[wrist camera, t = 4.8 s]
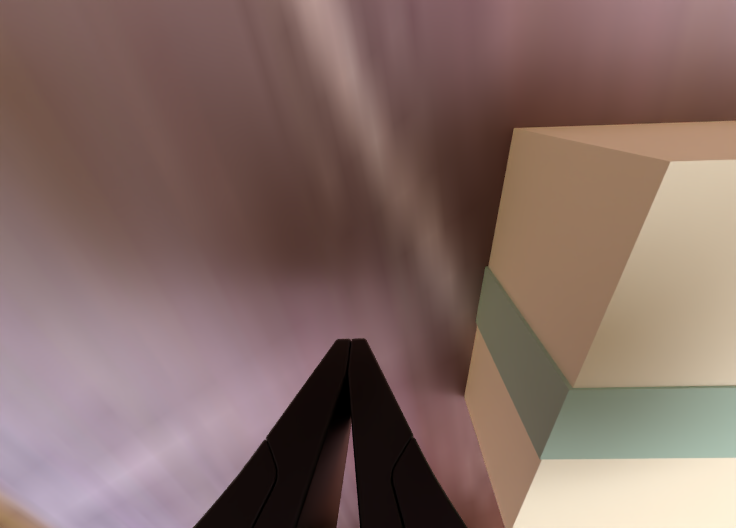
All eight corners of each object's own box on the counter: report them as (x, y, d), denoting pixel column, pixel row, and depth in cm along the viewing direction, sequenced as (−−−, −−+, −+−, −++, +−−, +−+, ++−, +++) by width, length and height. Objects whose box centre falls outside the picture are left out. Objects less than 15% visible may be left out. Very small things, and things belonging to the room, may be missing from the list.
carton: (461, 394, 14) (505, 540, 9) (507, 127, 8) (666, 162, 4) (716, 391, 13) (890, 538, 9) (931, 113, 8) (1623, 133, 4)
